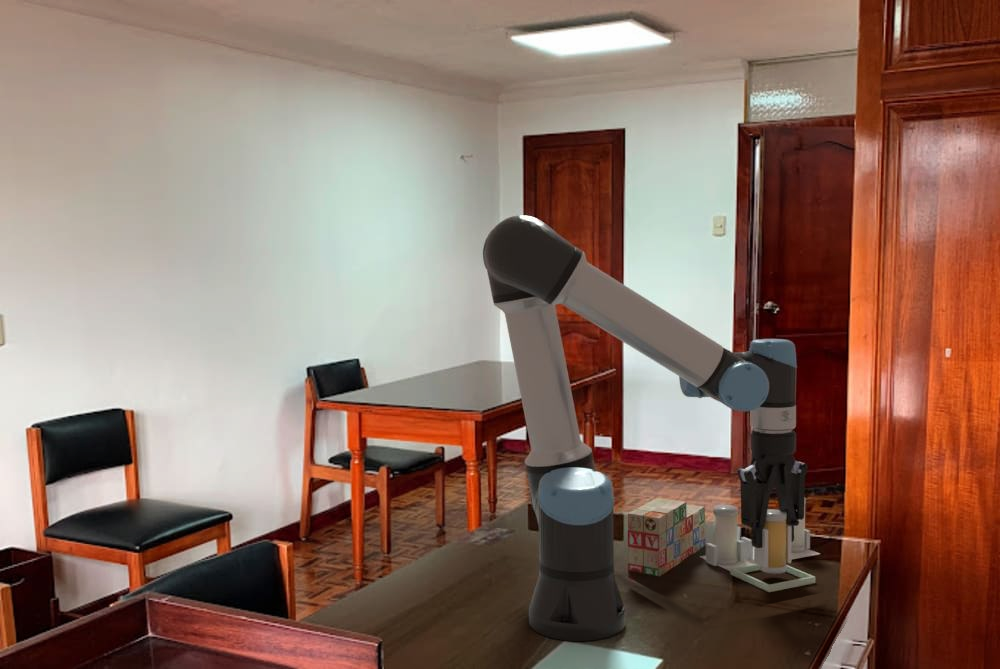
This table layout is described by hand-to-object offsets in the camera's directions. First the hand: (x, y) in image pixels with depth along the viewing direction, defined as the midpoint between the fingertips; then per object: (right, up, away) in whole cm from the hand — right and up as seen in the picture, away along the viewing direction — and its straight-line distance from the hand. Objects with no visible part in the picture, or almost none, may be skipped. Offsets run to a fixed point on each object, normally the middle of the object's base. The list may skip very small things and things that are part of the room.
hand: (772, 562), depth 158 cm
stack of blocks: (-16, -4, +13) cm, 21 cm away
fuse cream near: (-6, -2, +10) cm, 11 cm away
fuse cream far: (+9, -1, +16) cm, 18 cm away
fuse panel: (+1, -3, +13) cm, 13 cm away
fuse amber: (0, -1, 0) cm, 1 cm away
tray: (0, -4, 0) cm, 4 cm away
